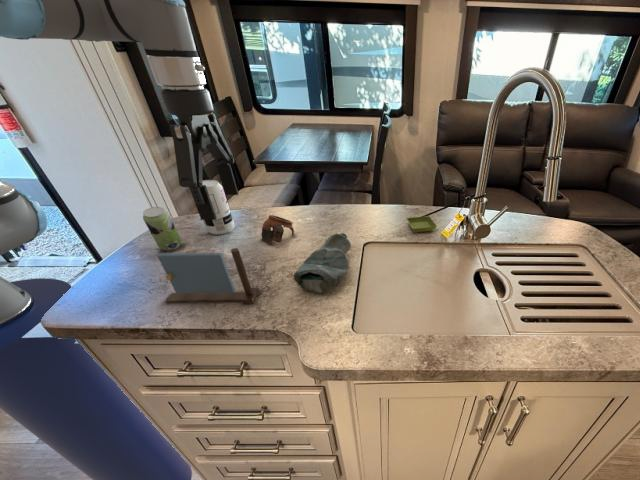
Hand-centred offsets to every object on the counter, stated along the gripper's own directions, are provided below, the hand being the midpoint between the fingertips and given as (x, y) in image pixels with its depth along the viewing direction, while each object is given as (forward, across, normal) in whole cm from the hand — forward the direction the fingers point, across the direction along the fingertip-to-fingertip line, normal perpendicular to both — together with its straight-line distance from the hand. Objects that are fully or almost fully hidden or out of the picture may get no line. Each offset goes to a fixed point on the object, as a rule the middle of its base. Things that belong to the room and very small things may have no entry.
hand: (221, 205), depth 69 cm
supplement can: (+21, +31, +17) cm, 41 cm away
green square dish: (+20, +32, -49) cm, 62 cm away
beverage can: (+21, +20, +27) cm, 40 cm away
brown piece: (+21, +24, -3) cm, 32 cm away
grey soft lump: (+20, +6, -21) cm, 30 cm away
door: (+19, -6, +7) cm, 21 cm away
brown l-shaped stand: (+21, -6, +6) cm, 22 cm away
